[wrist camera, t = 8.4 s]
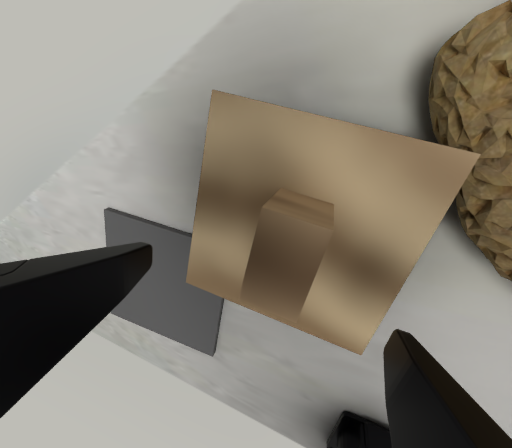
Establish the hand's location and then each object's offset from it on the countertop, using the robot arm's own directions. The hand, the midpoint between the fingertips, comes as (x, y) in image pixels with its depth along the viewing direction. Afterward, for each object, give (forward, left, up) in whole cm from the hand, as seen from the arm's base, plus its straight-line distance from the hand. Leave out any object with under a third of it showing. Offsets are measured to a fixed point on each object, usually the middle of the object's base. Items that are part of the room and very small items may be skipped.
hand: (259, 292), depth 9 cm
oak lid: (0, 0, -7) cm, 7 cm away
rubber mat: (-13, +12, -12) cm, 21 cm away
